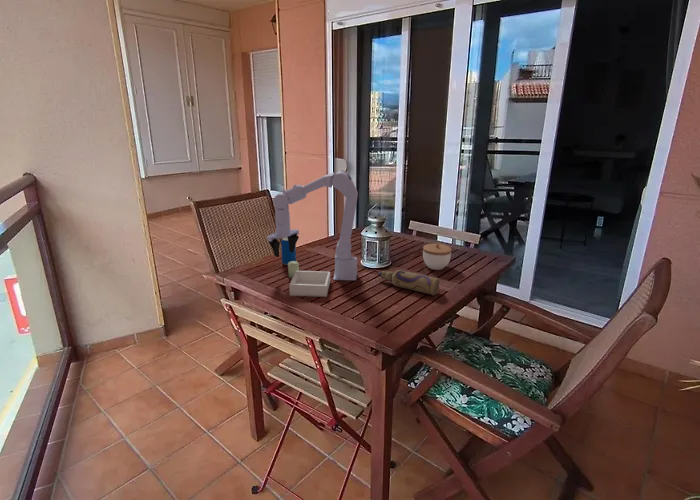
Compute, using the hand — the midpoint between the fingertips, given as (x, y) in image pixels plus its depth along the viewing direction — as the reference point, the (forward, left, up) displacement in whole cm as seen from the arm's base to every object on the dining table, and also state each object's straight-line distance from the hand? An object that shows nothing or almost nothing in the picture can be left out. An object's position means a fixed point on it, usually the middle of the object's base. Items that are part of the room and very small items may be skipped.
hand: (284, 254), depth 166 cm
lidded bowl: (-66, -15, -10) cm, 68 cm away
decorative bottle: (-52, +8, -10) cm, 53 cm away
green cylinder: (-4, +1, -10) cm, 10 cm away
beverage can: (+1, -14, -10) cm, 18 cm away
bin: (-13, +13, -10) cm, 20 cm away
